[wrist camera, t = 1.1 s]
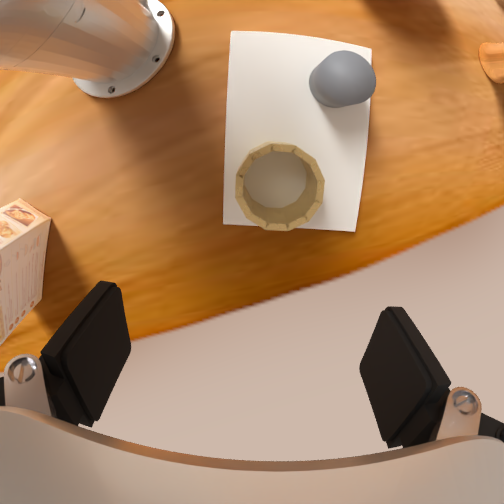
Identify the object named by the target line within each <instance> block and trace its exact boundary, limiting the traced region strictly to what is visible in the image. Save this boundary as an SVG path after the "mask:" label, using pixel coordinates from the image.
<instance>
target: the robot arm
mask: <svg viewBox="0 0 504 504" xmlns="http://www.w3.org/2000/svg"><path fill="white" fill-rule="evenodd" d="M162 15H163V16H162ZM161 16H162V17H161ZM174 39H175V25H174V20H173V17H172V16H171V14H170V12H169V10H168V9H167V8H166V7H165V6H164V5H163V4H162V3H161V2H159V1H158V0H0V70H15V71H26V72H36V73H44V74H52V75H58V76H65V77H71V78H73V81H74V82H75V84H76V85H77V86H78V87H79V88H80V89H81V90H82V91H83V92H85V93H87V94H89V95H91V96H95V97H101V98H113V97H119V96H123V95H126V94H129V93H131V92H133V91H135V90H137V89H139V88H140V87H141V86H143V85H144V84H146V83H147V82H148V81H149V80H151V79H152V78H153V77H154V76H155V75H156V74H157V73H158V71H159V70H160V69H161V68H162V67H163V65H164V63H165V62H166V60H167V58H168V57H169V55H170V52H171V50H172V47H173V44H174ZM157 59H160V60H159V61H158V62H156V61H157ZM114 89H115V92H114ZM130 351H131V342H130V338H129V333H128V328H127V323H126V317H125V312H124V306H123V300H122V294H121V289H120V288H119V287H117V285H116V284H115V283H113V282H106V281H100V282H98V283H97V285H96V286H95V287H94V288H93V289H92V290H91V291H90V292H89V294H88V295H87V296H86V297H85V298H84V299H83V300H82V301H81V303H80V304H79V305H78V306H77V307H76V308H75V310H74V311H73V312H72V313H71V314H70V316H69V317H68V318H67V319H66V320H65V322H64V323H63V324H62V325H61V326H60V328H59V329H58V330H57V331H56V333H55V334H54V335H53V336H52V338H51V339H50V340H49V341H48V343H47V344H46V345H45V347H44V348H43V349H42V351H41V354H42V355H41V356H40V358H39V359H38V358H37V357H36V356H34V355H31V354H21V355H18V356H16V357H14V358H13V359H11V360H10V361H9V362H8V363H7V365H6V367H5V370H4V377H1V378H0V504H504V423H502V422H500V421H498V420H495V419H493V418H491V417H489V416H487V415H485V414H483V413H481V402H480V399H479V398H478V396H477V395H476V394H475V393H474V392H473V391H471V390H469V389H467V388H464V387H457V388H454V389H452V391H450V390H449V388H448V387H449V386H450V384H451V381H450V380H449V378H448V376H447V375H446V373H445V371H444V370H443V368H442V366H441V365H440V363H439V361H438V360H437V358H436V357H435V355H434V353H433V352H432V350H431V349H430V347H429V346H428V344H427V342H426V341H425V339H424V338H423V336H422V335H421V333H420V332H419V330H418V329H417V327H416V326H415V324H414V323H413V322H412V320H411V319H410V317H409V316H408V314H407V313H406V311H405V310H404V309H403V308H402V307H387V308H386V309H385V310H384V311H382V312H381V314H380V316H379V319H378V322H377V324H376V327H375V329H374V332H373V334H372V337H371V339H370V342H369V344H368V346H367V349H366V352H365V353H364V356H363V358H362V360H361V363H360V374H361V377H362V379H363V382H364V385H365V388H366V391H367V394H368V397H369V400H370V403H371V405H372V409H373V412H374V415H375V418H376V421H377V424H378V428H379V431H380V434H381V437H382V440H383V441H386V443H387V446H388V448H393V447H397V446H401V445H402V446H403V448H402V449H397V450H392V451H387V452H382V453H375V454H370V455H363V456H355V457H347V458H338V459H327V460H313V461H276V462H274V461H245V460H232V459H221V458H211V457H203V456H196V455H189V454H183V453H177V452H171V451H166V450H161V449H156V448H151V447H147V446H143V445H139V444H135V443H131V442H127V441H124V440H120V439H117V438H113V437H110V436H106V435H103V434H100V433H97V432H94V431H90V430H87V429H84V428H81V427H79V426H78V424H79V423H80V424H83V425H85V426H88V427H92V425H93V423H94V421H98V420H99V419H100V416H101V414H102V412H103V410H104V407H105V405H106V403H107V401H108V398H109V396H110V394H111V392H112V390H113V388H114V386H115V383H116V381H117V379H118V377H119V375H120V373H121V371H122V368H123V366H124V364H125V362H126V360H127V358H128V356H129V354H130Z"/></svg>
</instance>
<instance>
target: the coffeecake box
mask: <svg viewBox="0 0 504 504" xmlns="http://www.w3.org/2000/svg"><path fill="white" fill-rule="evenodd" d="M50 222H51V218H50V217H48V216H46V215H45V214H43V213H41V212H40V211H38V210H37V209H35V208H34V207H32V206H31V205H30V204H28V203H27V202H25V201H24V200H22V199H21V198H19V199H18V200H16V201H14V202H12V203H10V204H8V205H6V206H4V207H1V208H0V345H1V344H2V343H3V342H4V340H5V339H6V338H7V337H8V336H9V334H10V333H11V332H12V331H13V330H14V329H15V328H16V326H17V325H18V324H19V323H20V322H21V321H22V320H23V318H24V317H25V316H26V315H27V314H28V313H29V312H30V311H31V310H32V309H33V308H34V307H35V306H36V304H37V303H38V302H39V301H40V300H41V299H42V287H43V274H44V264H45V255H46V247H47V240H48V234H49V228H50Z"/></svg>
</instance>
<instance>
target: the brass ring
mask: <svg viewBox="0 0 504 504" xmlns="http://www.w3.org/2000/svg"><path fill="white" fill-rule="evenodd" d="M272 151H278V152H291V153H293V154H295V155H296V156H298V157H299V158H300V159H301V161H302V164H303V166H304V168H305V170H306V172H307V175H306V186H305V189H304V191H303V192H302V194H301V195H300V196H299V198H298V199H297V201H296V202H294V203H291V204H289V205H287V206H285V207H283V208H270V207H264V206H263V205H261V204H260V203H258V202H256V201H255V200H253V199H252V198H251V196H250V194H249V192H248V191H247V189H246V187H245V185H244V181H245V174H246V172H247V170H248V169H249V167H250V166H251V164H252V163H253V161H254V160H256V159H258V158H260V157H262V156H264V155H266V154H268V153H270V152H272ZM324 185H325V179H324V177H323V175H322V173H321V170H320V168H319V166H318V164H317V162H316V159H314V158H313V157H312V156H310V155H309V154H307V153H306V152H304V151H303V150H302V149H300V148H299V147H297V146H296V145H293V144H290V143H286V142H273V141H267V142H265V143H263V144H261V145H259V146H257V147H255V148H253V149H251V150H249V152H248V153H247V155H246V157H245V158H244V160H243V161H242V163H241V164H240V166H239V168H238V170H237V173H236V184H235V199H236V201H237V202H238V204H239V206H240V208H241V210H242V211H243V213H244V215H245V217H246V218H247V219H249V220H250V221H252V222H253V223H255V224H257V225H258V226H260V227H262V228H263V229H265V230H277V231H290V230H292V229H294V228H296V227H298V226H300V225H302V224H305V223H307V222H309V221H310V219H311V218H312V217H313V215H314V214H315V213H316V211H317V210H318V209H319V207H320V206H321V204H322V202H323V194H324Z"/></svg>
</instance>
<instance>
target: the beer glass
mask: <svg viewBox="0 0 504 504" xmlns="http://www.w3.org/2000/svg"><path fill="white" fill-rule="evenodd" d="M479 58H480V62H481V65H482V67H483V69H484V71H485V73H486V74H487V76H488V77H489V78H490V79H491V80H492V81H494V82H495V83H499V84H500V83H504V42H502V43H489V42H486V43H483V44H481V45H480V48H479Z"/></svg>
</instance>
